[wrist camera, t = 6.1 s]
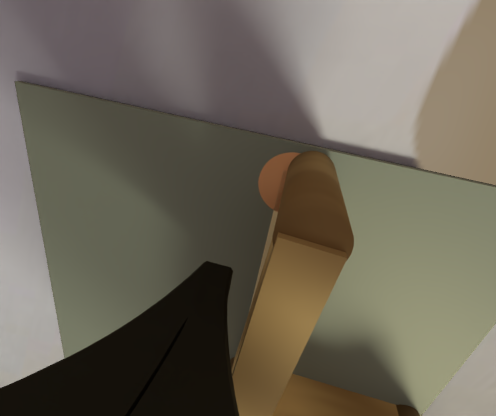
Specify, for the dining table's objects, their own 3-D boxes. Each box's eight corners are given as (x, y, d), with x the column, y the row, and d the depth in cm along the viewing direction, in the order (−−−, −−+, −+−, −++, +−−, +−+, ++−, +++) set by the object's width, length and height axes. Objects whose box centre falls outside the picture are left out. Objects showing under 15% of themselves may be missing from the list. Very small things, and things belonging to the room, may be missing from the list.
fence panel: (262, 364, 14) (243, 482, 10) (231, 354, 14) (200, 466, 10) (343, 158, 9) (369, 224, 5) (295, 145, 9) (283, 199, 5)
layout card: (580, 203, 9) (589, 208, 9) (350, 497, 19) (351, 504, 19) (21, 81, 11) (13, 81, 11) (76, 404, 21) (73, 409, 21)
